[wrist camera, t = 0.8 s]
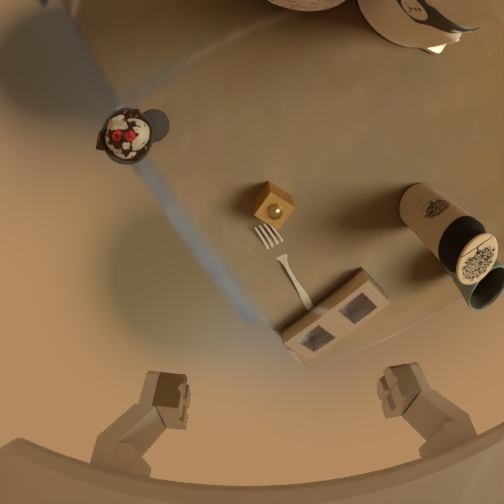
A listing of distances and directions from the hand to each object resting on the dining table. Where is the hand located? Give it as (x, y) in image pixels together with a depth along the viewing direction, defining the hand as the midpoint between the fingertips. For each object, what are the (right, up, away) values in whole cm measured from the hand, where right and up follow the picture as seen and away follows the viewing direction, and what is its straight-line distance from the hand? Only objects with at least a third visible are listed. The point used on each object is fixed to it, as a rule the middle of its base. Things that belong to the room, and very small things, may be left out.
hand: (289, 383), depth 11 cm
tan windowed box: (+14, -6, +44) cm, 47 cm away
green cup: (+41, +5, +39) cm, 56 cm away
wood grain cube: (+2, +13, +33) cm, 36 cm away
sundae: (-16, +23, +27) cm, 39 cm away
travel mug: (+27, +13, +33) cm, 45 cm away
